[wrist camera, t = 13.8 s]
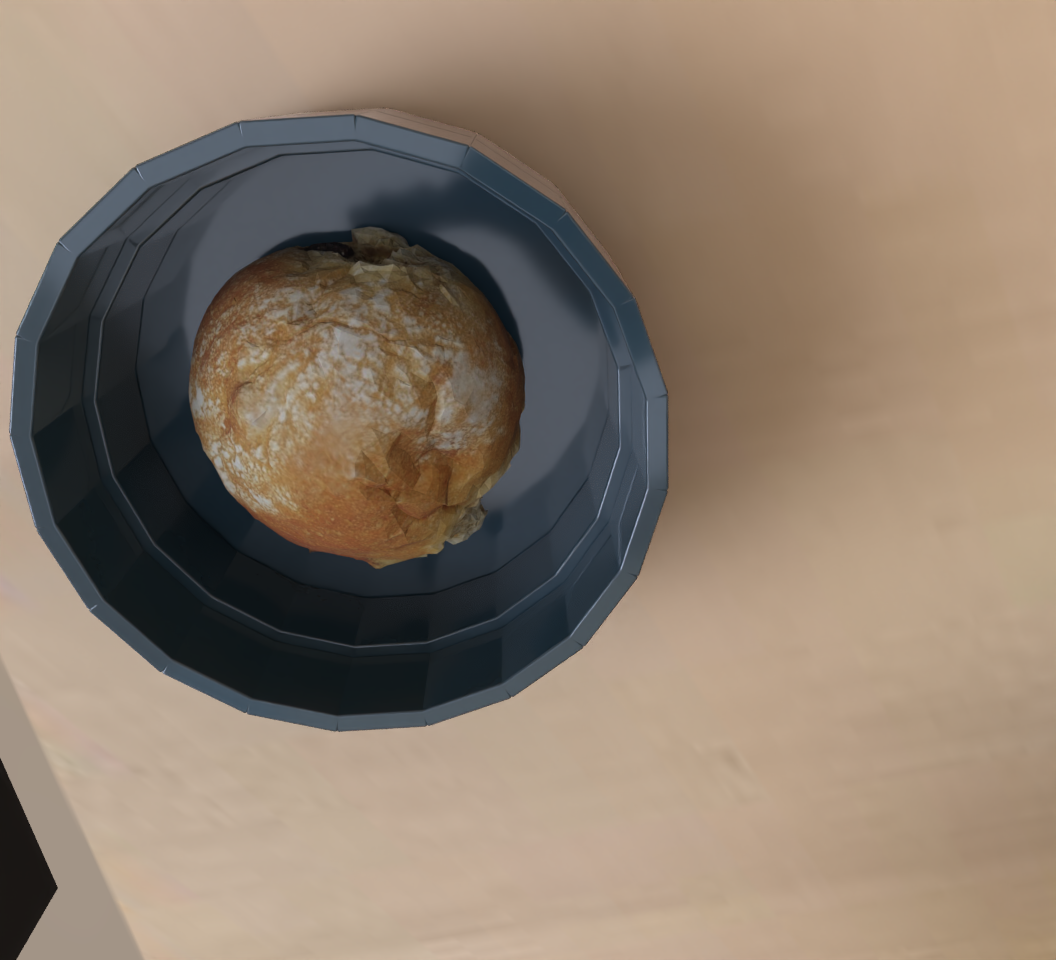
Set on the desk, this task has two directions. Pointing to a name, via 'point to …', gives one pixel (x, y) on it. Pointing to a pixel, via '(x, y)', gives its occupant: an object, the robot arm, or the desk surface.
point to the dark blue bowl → (249, 545)
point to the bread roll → (358, 396)
